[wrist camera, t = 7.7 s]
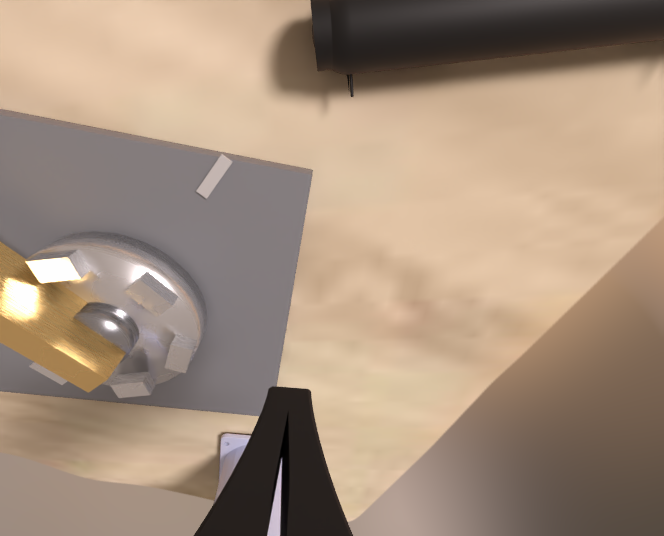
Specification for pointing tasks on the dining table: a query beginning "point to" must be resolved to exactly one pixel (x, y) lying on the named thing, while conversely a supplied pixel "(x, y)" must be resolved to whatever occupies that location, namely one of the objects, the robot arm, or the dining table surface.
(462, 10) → the door handle
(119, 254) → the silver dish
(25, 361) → the nut board
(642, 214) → the dining table surface
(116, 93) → the dining table surface
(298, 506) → the robot arm
